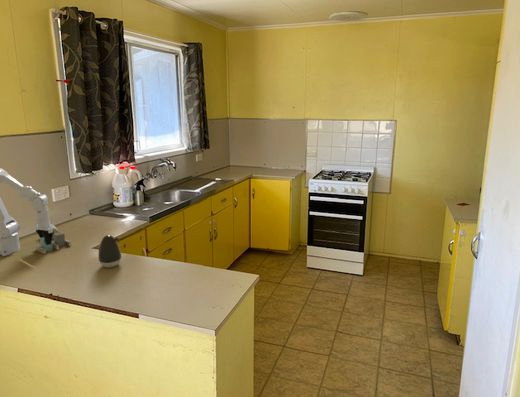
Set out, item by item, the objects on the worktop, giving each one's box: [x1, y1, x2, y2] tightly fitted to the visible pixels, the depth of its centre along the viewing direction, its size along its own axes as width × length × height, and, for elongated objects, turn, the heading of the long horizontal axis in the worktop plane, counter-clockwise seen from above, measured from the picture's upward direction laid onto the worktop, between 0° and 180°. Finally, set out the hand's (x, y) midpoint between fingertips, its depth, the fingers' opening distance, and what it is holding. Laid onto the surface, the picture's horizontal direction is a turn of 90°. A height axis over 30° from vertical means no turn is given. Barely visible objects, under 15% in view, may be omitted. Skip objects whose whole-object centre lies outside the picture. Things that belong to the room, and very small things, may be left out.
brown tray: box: [35, 238, 72, 255], centre depth 206 cm, size 14×9×3 cm, turn 142°
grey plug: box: [53, 231, 66, 248], centre depth 207 cm, size 4×4×7 cm
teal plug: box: [39, 236, 53, 251], centre depth 202 cm, size 4×4×7 cm
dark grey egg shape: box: [98, 234, 122, 268], centre depth 184 cm, size 10×10×15 cm
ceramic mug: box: [51, 224, 60, 240], centre depth 223 cm, size 11×8×8 cm
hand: (46, 243), depth 202 cm, fingers open, 5 cm apart
